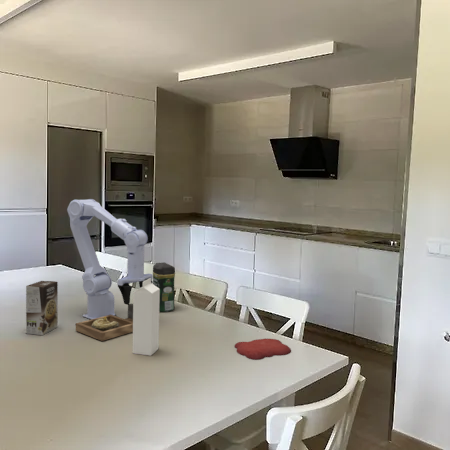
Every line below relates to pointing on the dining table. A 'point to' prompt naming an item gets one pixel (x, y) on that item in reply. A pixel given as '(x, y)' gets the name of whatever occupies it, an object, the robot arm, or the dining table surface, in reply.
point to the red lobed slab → (262, 348)
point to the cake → (104, 324)
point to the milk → (146, 319)
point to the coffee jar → (164, 285)
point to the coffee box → (41, 307)
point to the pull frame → (104, 335)
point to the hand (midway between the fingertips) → (135, 302)
